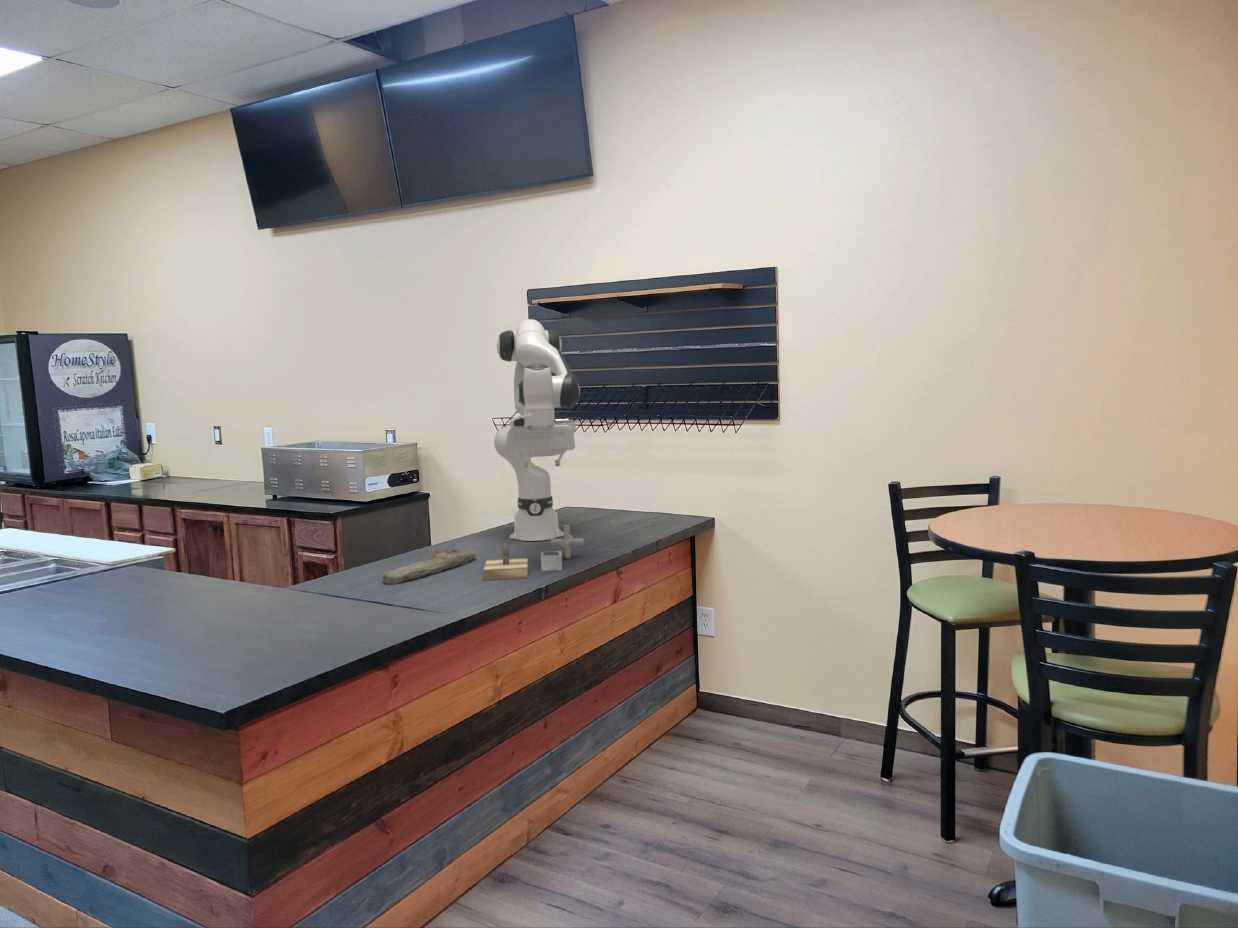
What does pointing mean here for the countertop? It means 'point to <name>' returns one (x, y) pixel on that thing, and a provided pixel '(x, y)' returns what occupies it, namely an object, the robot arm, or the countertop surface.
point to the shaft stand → (506, 567)
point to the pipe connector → (567, 541)
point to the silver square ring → (551, 561)
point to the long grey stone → (430, 565)
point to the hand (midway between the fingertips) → (541, 466)
